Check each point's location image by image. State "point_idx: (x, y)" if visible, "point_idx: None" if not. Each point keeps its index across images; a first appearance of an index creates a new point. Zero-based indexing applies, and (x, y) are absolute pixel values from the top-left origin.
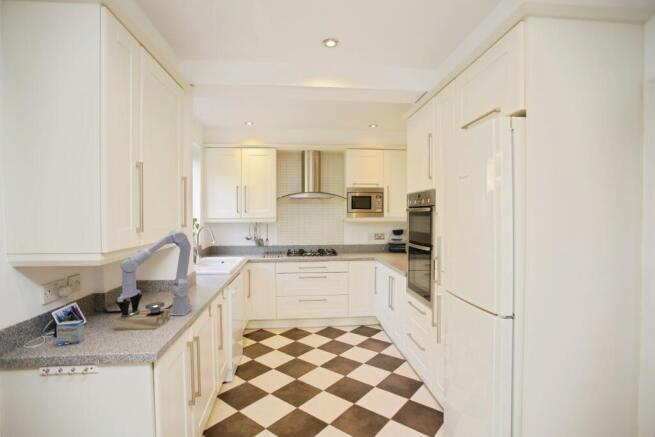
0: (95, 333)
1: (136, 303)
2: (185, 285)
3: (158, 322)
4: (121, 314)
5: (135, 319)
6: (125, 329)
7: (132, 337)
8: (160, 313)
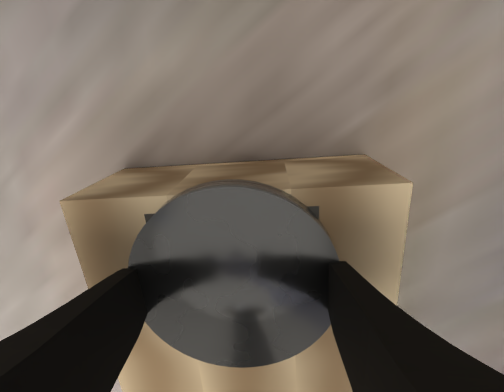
0: (28, 53)
1: (358, 390)
2: None
3: None
4: (143, 238)
5: (123, 378)
6: None
7: None
8: None
